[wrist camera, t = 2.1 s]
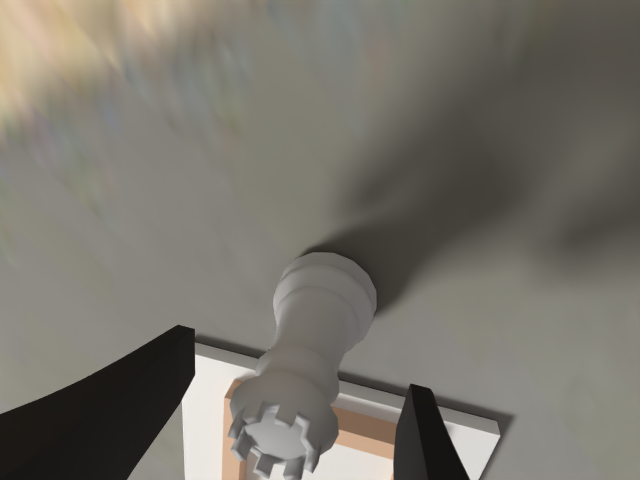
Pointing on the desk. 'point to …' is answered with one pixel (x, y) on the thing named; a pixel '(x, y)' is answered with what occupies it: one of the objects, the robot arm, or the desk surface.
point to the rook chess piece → (302, 365)
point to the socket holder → (353, 424)
